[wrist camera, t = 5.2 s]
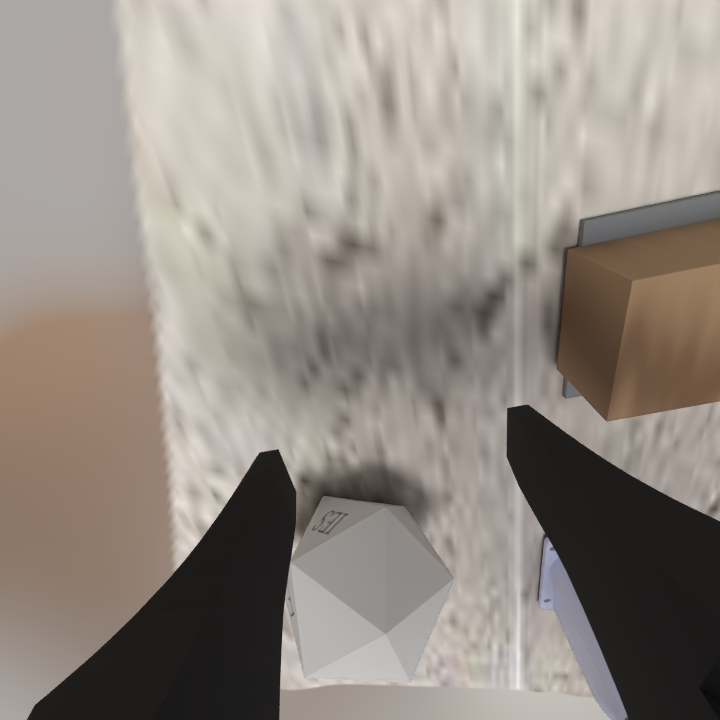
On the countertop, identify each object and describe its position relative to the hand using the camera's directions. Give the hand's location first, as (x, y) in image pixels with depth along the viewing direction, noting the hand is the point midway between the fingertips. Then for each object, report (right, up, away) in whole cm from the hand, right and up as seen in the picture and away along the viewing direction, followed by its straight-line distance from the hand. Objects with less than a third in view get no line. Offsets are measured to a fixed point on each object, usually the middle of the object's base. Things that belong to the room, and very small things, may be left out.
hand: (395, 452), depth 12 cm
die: (-1, -7, +13) cm, 14 cm away
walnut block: (+8, +4, +4) cm, 10 cm away
